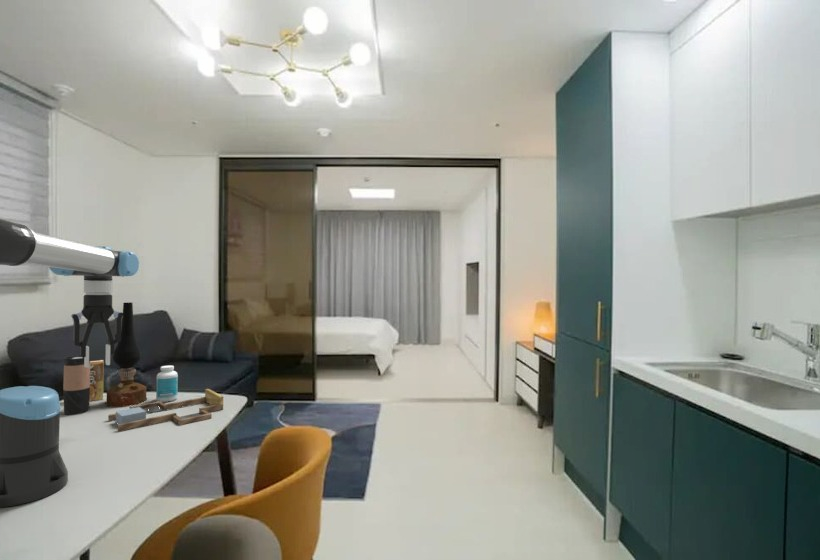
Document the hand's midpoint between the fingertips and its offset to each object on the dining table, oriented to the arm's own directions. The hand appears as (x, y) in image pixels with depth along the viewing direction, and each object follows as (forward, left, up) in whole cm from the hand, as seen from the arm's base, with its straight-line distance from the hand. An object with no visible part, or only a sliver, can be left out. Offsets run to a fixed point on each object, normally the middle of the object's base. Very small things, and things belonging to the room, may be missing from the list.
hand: (97, 365), depth 137 cm
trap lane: (+20, 0, -21) cm, 29 cm away
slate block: (+9, 0, -21) cm, 23 cm away
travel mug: (-2, +26, -21) cm, 33 cm away
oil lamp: (+14, +28, -21) cm, 38 cm away
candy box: (+4, +40, -21) cm, 45 cm away
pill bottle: (+26, +20, -21) cm, 39 cm away
